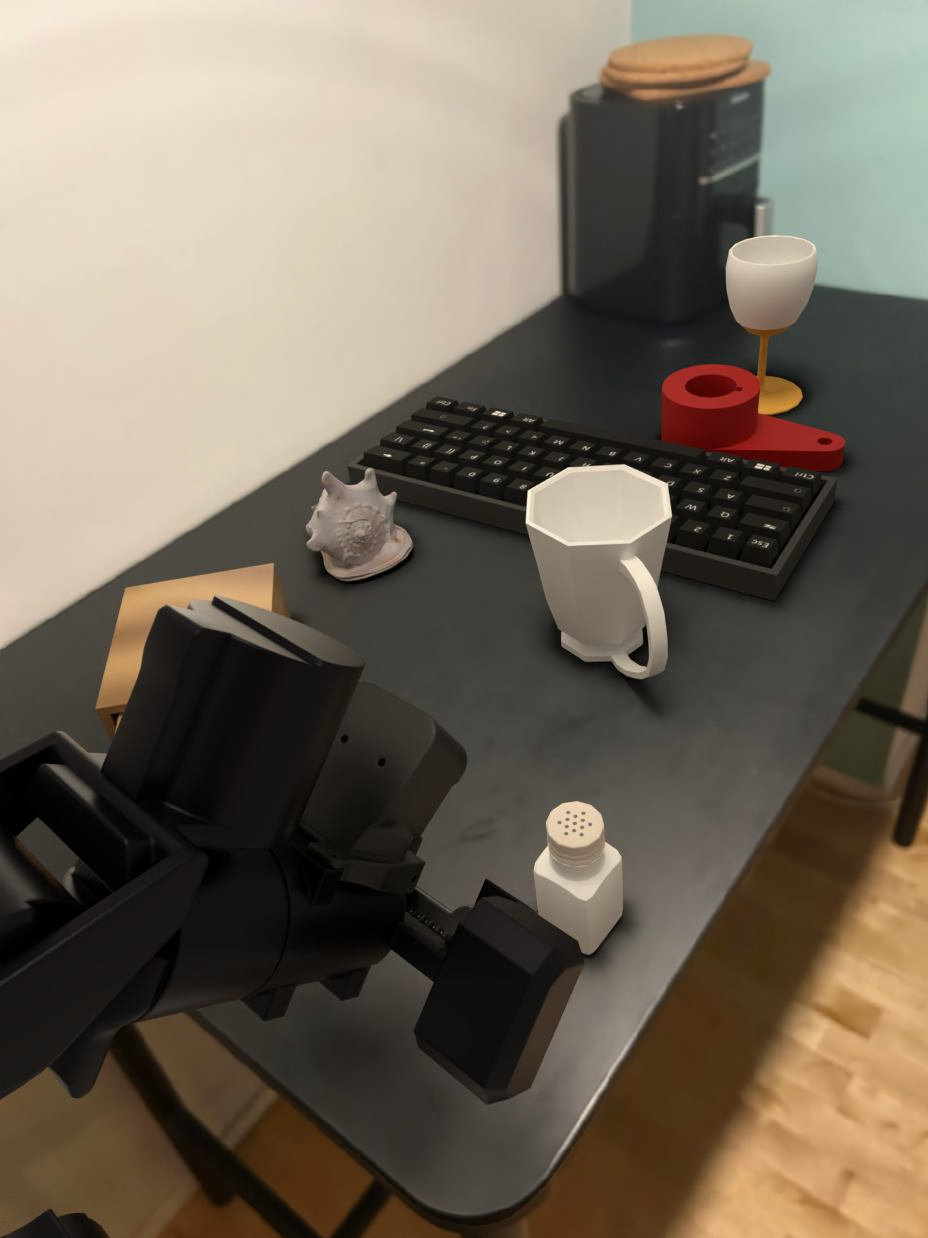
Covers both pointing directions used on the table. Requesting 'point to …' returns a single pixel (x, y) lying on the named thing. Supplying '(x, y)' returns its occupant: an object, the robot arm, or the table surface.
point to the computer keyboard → (539, 449)
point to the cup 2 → (771, 301)
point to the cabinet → (147, 599)
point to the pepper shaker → (579, 876)
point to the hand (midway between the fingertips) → (471, 881)
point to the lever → (739, 421)
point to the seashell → (356, 529)
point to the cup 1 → (603, 561)
